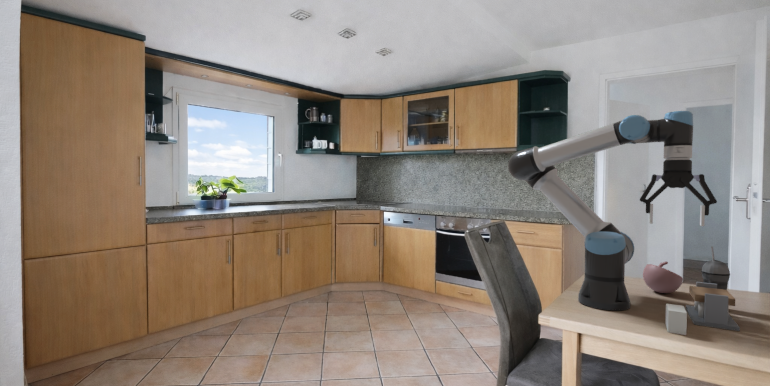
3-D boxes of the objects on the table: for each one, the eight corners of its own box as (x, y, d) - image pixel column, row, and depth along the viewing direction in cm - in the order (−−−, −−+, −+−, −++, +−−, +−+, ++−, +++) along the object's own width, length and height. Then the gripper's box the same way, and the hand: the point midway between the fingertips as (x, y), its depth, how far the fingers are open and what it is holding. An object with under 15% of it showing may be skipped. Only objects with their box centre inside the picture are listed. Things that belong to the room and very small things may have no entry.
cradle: (693, 324, 114) (694, 293, 114) (685, 307, 129) (686, 280, 129) (739, 331, 109) (740, 298, 109) (725, 313, 124) (726, 284, 124)
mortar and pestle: (690, 296, 142) (691, 264, 142) (663, 298, 139) (664, 265, 139) (660, 287, 154) (661, 257, 153) (634, 289, 151) (635, 259, 151)
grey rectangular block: (667, 332, 108) (668, 310, 108) (665, 324, 114) (665, 303, 114) (686, 335, 106) (686, 312, 106) (682, 326, 112) (683, 305, 112)
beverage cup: (734, 312, 124) (736, 248, 124) (708, 311, 126) (710, 248, 125) (720, 305, 132) (722, 245, 131) (695, 304, 133) (697, 244, 132)
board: (694, 301, 116) (695, 294, 116) (689, 292, 126) (689, 285, 126) (735, 306, 112) (735, 299, 112) (726, 296, 121) (726, 289, 121)
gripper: (632, 159, 133) (631, 223, 134) (730, 158, 121) (727, 228, 121) (632, 160, 140) (630, 221, 140) (724, 159, 127) (722, 225, 128)
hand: (675, 224), depth 131 cm, fingers open, 13 cm apart
